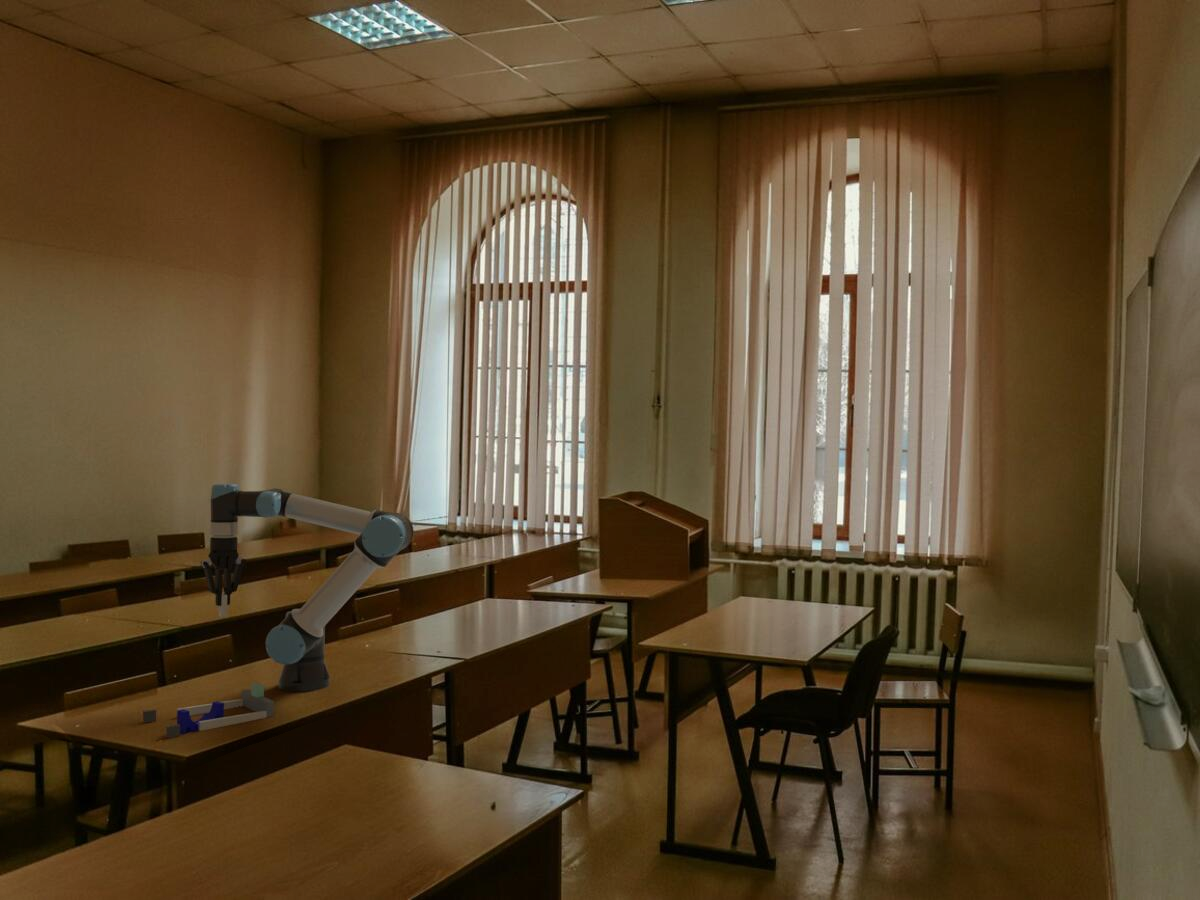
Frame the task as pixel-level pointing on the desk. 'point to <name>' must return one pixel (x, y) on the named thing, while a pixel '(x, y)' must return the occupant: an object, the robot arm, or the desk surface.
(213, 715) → the blue u-shaped block
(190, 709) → the port dock
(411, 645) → the desk surface
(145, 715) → the holster stops
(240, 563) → the robot arm
